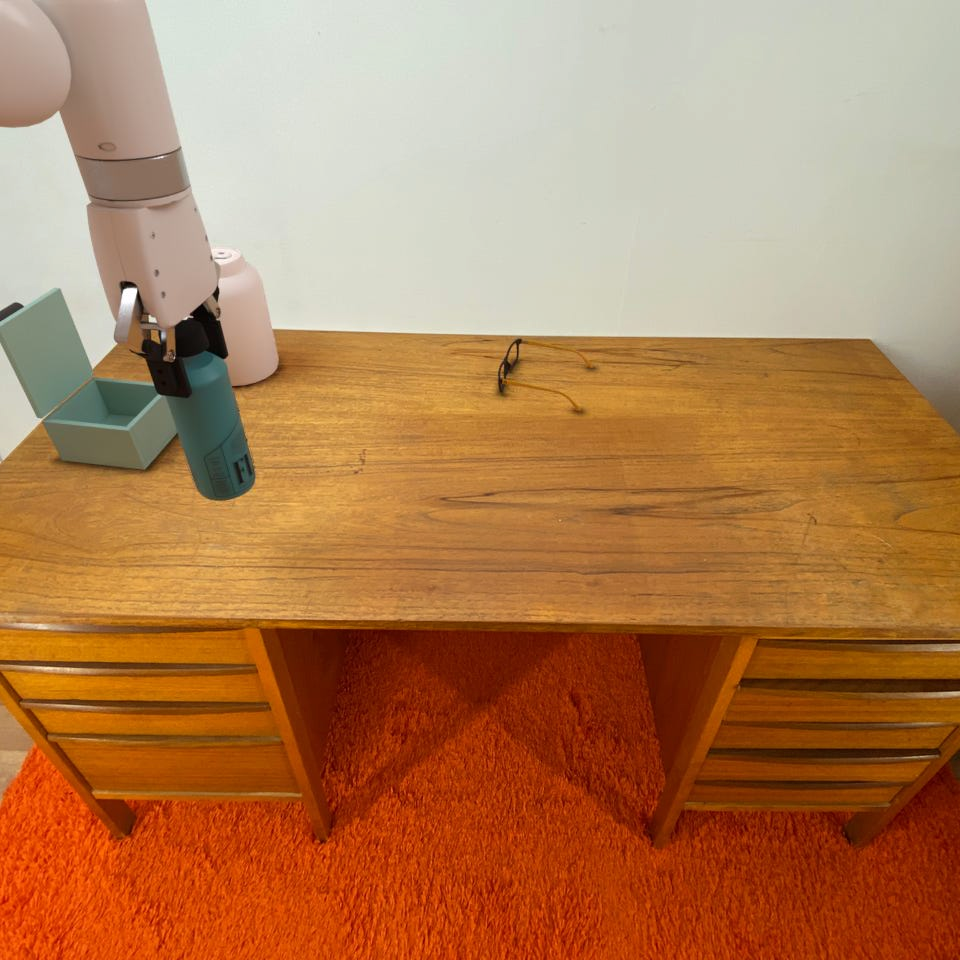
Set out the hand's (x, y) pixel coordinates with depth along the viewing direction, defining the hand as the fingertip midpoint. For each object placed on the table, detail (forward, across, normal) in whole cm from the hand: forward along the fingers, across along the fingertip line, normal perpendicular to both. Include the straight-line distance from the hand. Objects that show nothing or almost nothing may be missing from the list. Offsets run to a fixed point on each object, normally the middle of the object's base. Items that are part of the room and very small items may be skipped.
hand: (194, 373), depth 61 cm
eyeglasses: (+24, -46, +32) cm, 61 cm away
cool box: (+25, -19, -27) cm, 41 cm away
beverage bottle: (+15, 0, 0) cm, 15 cm away
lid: (+11, -18, -33) cm, 39 cm away
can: (+25, -41, -19) cm, 52 cm away
